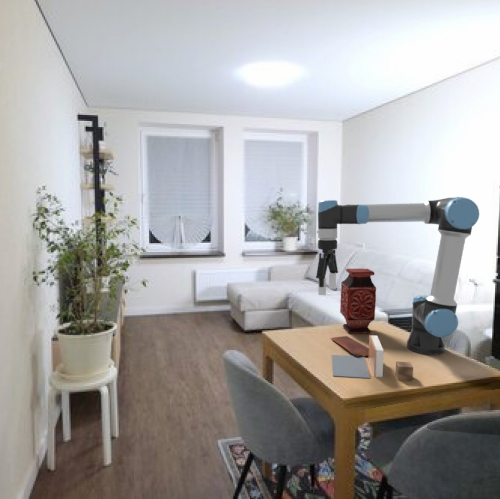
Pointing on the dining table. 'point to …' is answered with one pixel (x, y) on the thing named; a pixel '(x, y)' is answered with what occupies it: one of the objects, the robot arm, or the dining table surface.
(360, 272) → the vase
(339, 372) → the felt mat
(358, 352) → the wooden tablet
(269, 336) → the dining table surface
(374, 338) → the tile
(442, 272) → the robot arm
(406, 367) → the walnut block
